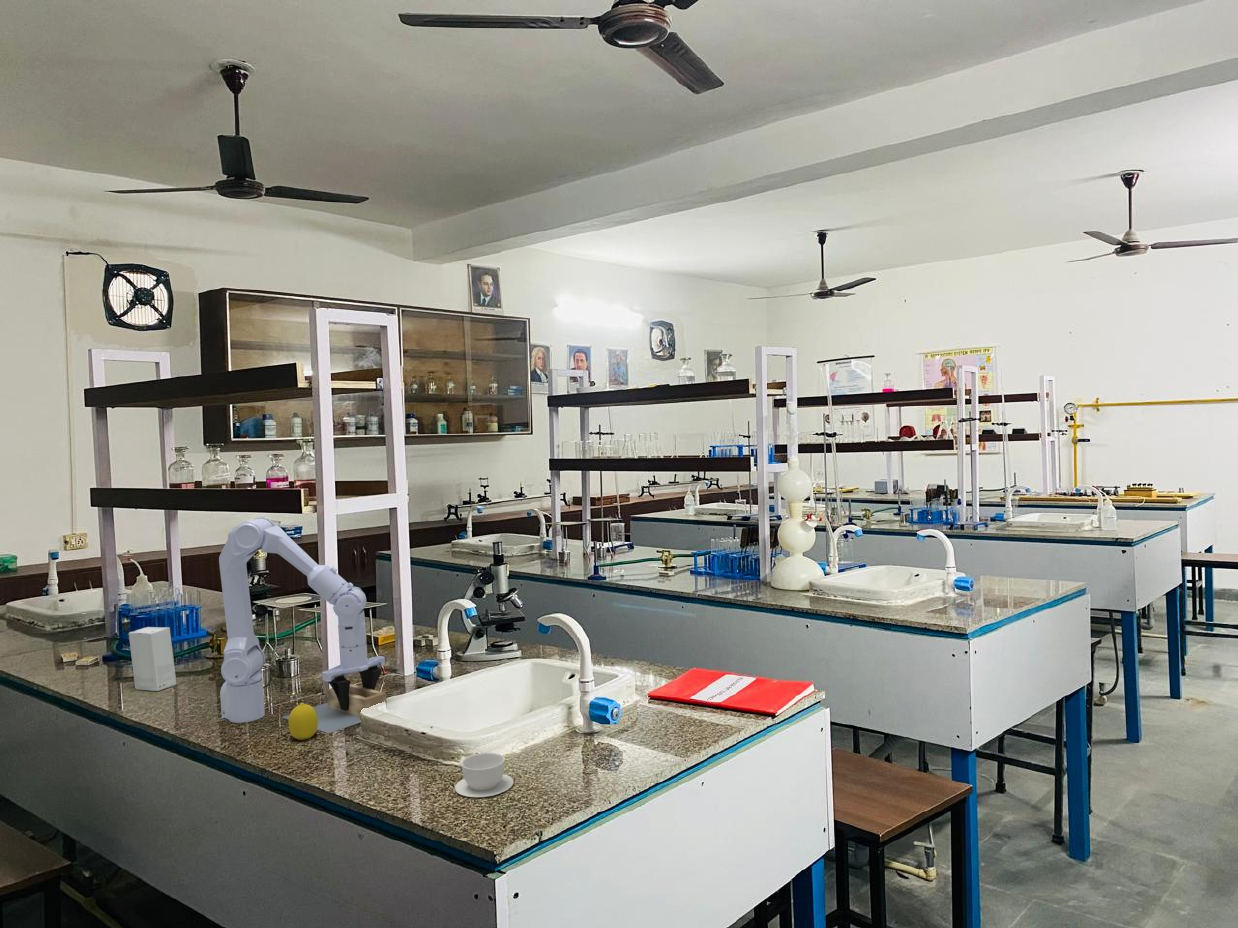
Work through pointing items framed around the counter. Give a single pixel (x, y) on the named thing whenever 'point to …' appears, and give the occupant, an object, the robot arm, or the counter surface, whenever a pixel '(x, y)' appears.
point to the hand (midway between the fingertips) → (356, 705)
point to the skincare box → (152, 658)
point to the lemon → (303, 722)
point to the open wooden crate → (356, 699)
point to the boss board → (332, 718)
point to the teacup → (483, 776)
